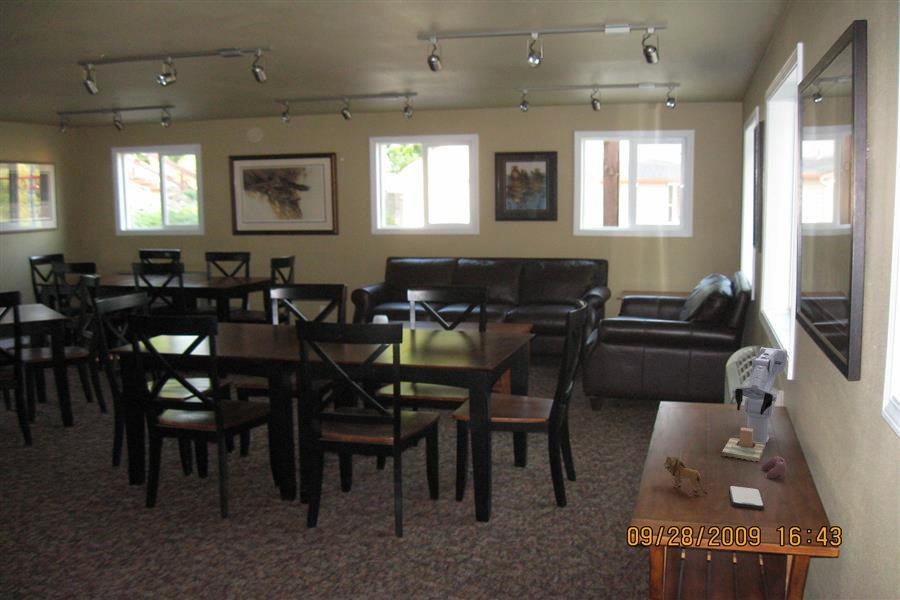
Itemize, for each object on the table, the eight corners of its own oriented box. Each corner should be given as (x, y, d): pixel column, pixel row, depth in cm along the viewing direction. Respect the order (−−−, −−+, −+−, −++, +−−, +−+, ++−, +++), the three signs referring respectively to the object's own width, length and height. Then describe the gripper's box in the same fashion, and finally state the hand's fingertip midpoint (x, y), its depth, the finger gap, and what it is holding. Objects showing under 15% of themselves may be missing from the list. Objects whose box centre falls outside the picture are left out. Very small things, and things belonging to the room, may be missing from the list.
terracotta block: (740, 446, 292) (741, 427, 291) (752, 448, 290) (753, 429, 290) (738, 449, 289) (740, 429, 288) (750, 451, 287) (752, 431, 286)
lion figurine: (659, 484, 249) (661, 455, 248) (668, 480, 252) (670, 452, 251) (703, 498, 238) (705, 468, 237) (712, 494, 242) (714, 464, 241)
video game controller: (779, 484, 257) (791, 466, 256) (765, 476, 258) (778, 458, 256) (773, 474, 267) (784, 456, 266) (760, 467, 267) (772, 449, 266)
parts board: (730, 441, 298) (730, 437, 297) (765, 447, 292) (765, 442, 292) (721, 455, 280) (721, 451, 280) (758, 461, 274) (759, 457, 274)
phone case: (728, 490, 247) (731, 507, 232) (728, 485, 247) (732, 502, 232) (759, 494, 245) (764, 512, 230) (759, 488, 245) (765, 506, 230)
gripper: (736, 372, 293) (728, 398, 284) (779, 379, 286) (772, 406, 277) (736, 386, 297) (728, 412, 288) (778, 393, 290) (771, 420, 281)
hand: (749, 410), depth 283 cm, fingers open, 7 cm apart
